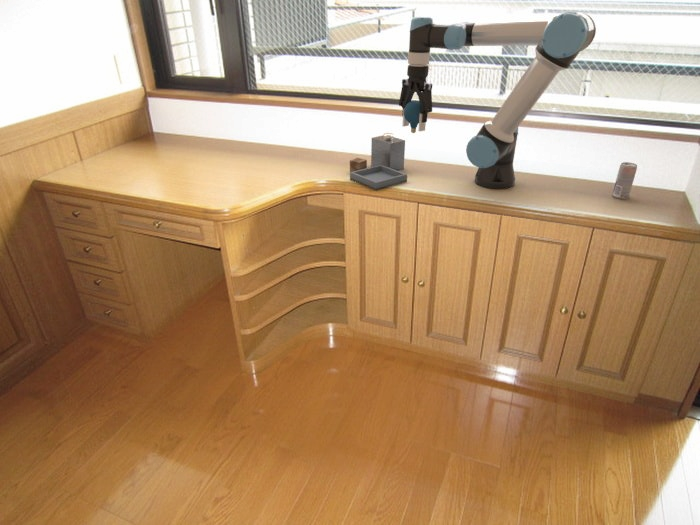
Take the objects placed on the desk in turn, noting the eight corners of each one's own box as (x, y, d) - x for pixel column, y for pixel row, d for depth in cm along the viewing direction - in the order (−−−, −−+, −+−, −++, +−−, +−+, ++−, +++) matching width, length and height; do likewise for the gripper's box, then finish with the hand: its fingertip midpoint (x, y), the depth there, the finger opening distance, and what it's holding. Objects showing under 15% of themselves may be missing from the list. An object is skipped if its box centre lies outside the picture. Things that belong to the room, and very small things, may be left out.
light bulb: (424, 130, 191) (426, 99, 185) (424, 136, 184) (427, 103, 178) (402, 129, 192) (404, 98, 186) (401, 135, 184) (404, 102, 179)
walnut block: (366, 171, 205) (366, 159, 202) (359, 174, 201) (359, 162, 199) (357, 169, 207) (357, 157, 205) (349, 172, 204) (349, 160, 201)
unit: (403, 168, 207) (405, 135, 201) (389, 172, 203) (390, 138, 196) (384, 162, 216) (385, 130, 209) (370, 165, 212) (371, 132, 205)
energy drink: (623, 193, 179) (632, 162, 174) (631, 199, 175) (640, 166, 169) (609, 194, 179) (617, 162, 173) (616, 199, 174) (625, 166, 169)
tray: (406, 181, 193) (407, 174, 191) (375, 190, 184) (376, 182, 183) (380, 171, 204) (380, 164, 202) (350, 179, 195) (349, 172, 194)
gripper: (447, 67, 170) (440, 132, 181) (406, 60, 185) (402, 121, 196) (431, 69, 166) (425, 135, 177) (391, 62, 181) (388, 123, 192)
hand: (413, 128), depth 187 cm, fingers closed on light bulb, 8 cm apart
